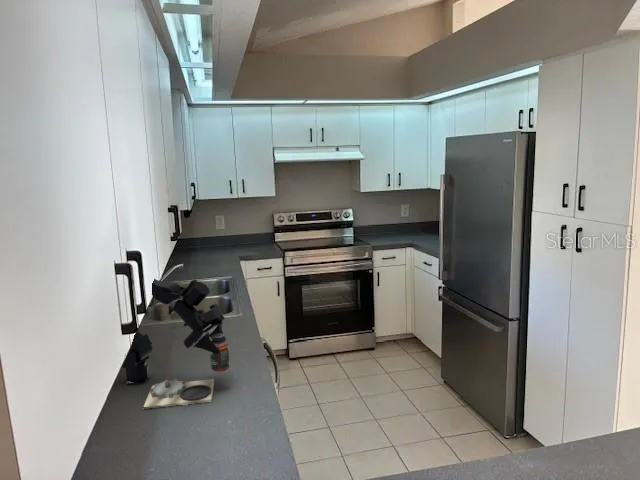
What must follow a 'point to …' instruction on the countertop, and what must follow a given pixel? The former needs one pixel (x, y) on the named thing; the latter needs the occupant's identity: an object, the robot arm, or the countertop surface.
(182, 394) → the gear board
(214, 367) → the supplement bottle
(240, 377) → the countertop surface
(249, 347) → the countertop surface
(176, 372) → the countertop surface
